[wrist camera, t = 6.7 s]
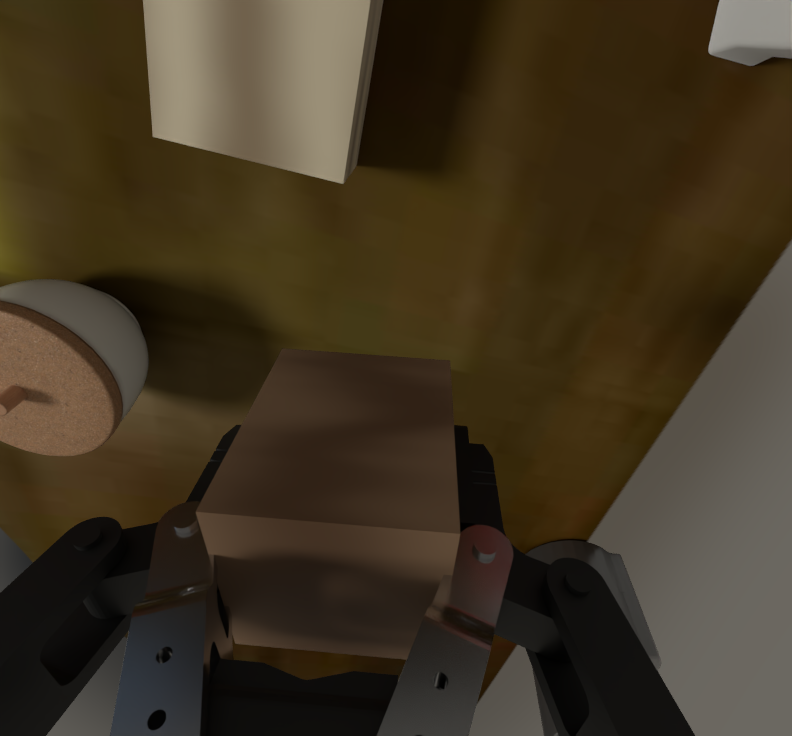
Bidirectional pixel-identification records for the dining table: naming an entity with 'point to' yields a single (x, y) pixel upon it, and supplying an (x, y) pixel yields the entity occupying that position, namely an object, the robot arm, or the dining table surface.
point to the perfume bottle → (752, 30)
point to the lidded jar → (66, 366)
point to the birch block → (264, 78)
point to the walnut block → (337, 504)
